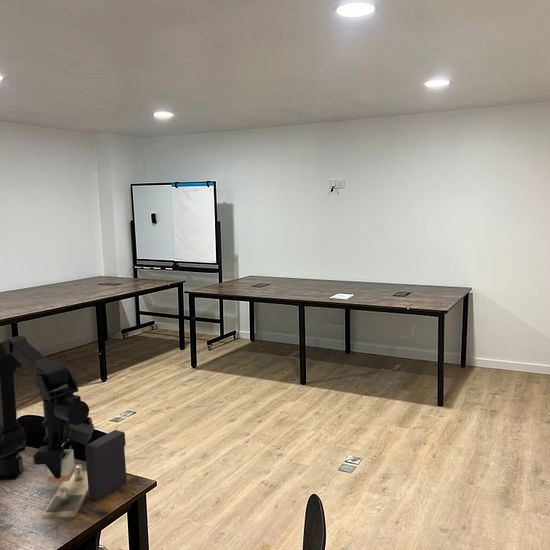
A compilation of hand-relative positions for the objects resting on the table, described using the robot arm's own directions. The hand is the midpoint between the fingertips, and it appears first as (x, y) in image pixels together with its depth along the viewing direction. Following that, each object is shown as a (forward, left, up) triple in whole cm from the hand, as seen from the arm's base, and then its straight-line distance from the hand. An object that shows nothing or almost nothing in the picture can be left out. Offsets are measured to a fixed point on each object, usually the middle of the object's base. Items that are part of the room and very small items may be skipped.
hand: (61, 472), depth 138 cm
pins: (0, +6, -10) cm, 11 cm away
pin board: (0, +6, -10) cm, 11 cm away
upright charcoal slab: (+9, +7, -10) cm, 15 cm away
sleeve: (0, 0, -1) cm, 1 cm away
